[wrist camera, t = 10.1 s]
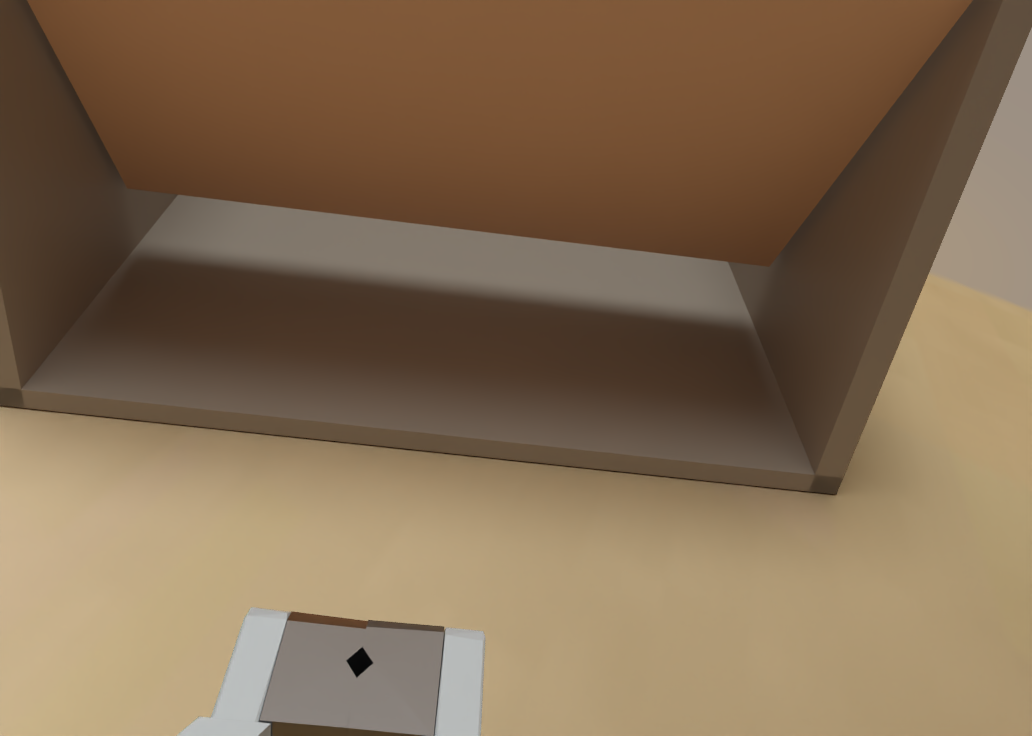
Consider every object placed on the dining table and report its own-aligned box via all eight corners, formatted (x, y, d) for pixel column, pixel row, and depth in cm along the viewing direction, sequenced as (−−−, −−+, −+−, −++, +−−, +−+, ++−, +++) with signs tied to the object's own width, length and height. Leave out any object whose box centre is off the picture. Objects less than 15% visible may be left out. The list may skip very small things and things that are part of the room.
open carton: (730, 245, 39) (833, -122, 32) (836, 494, 26) (1059, -39, 18) (181, 178, 38) (152, -225, 30) (-7, 404, 24) (-143, -216, 17)
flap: (768, 240, 31) (1012, -97, 18) (769, 272, 30) (1019, -51, 18) (134, 161, 30) (-74, -261, 17) (125, 193, 29) (-95, -215, 17)
